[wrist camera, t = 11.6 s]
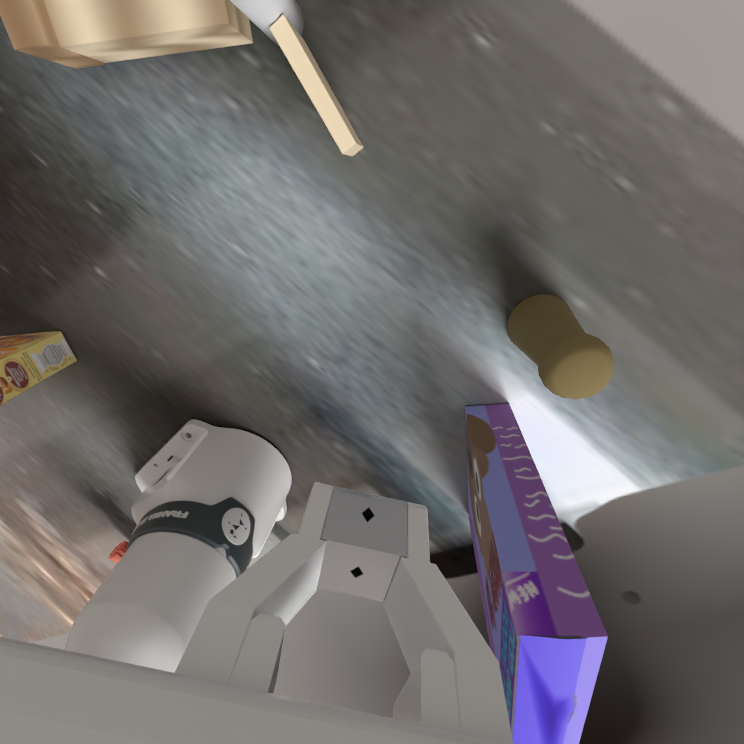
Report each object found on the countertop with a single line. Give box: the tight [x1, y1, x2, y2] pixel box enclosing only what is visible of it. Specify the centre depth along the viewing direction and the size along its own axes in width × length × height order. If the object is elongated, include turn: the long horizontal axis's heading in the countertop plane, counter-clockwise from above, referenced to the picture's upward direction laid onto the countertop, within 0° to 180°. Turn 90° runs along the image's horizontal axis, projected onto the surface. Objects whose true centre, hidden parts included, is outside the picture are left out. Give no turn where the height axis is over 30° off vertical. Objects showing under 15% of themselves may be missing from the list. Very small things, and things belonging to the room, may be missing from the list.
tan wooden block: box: [0, 0, 253, 68], centre depth 26 cm, size 15×3×5 cm, turn 94°
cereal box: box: [465, 403, 608, 744], centre depth 35 cm, size 17×5×24 cm, turn 8°
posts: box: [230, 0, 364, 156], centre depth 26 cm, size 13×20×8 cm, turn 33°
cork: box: [507, 294, 614, 399], centre depth 32 cm, size 6×6×11 cm
